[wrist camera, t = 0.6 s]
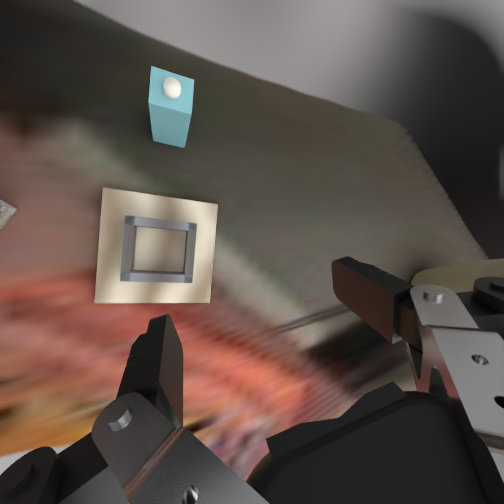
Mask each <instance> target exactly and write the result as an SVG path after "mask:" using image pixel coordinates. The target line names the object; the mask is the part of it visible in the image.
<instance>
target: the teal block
mask: <svg viewBox="0 0 504 504" xmlns="http://www.w3.org/2000/svg"><path fill="white" fill-rule="evenodd" d="M193 89H194V80H193V79H189V78H186V77H183V76H180V75H177V74H174V73H171V72H168V71H165V70H162V69H159V68H156V67H153V66H151V78H150V91H149V111H150V119H151V127H152V135H153V141H156V142H160V143H165V144H169V145H174V146H178V147H182V148H185V144H186V139H187V134H188V129H189V124H190V119H191V114H192V101H193Z"/></svg>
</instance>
